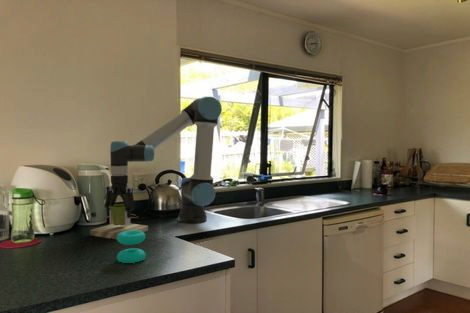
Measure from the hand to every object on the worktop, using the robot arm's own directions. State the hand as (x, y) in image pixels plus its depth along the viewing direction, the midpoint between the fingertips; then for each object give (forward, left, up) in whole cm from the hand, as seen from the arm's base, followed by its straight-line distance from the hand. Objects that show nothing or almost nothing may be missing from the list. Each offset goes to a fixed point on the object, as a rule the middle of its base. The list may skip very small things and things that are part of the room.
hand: (119, 223), depth 176 cm
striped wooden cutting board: (0, 0, -5) cm, 5 cm away
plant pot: (0, 0, 0) cm, 0 cm away
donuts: (-31, +29, -5) cm, 43 cm away
